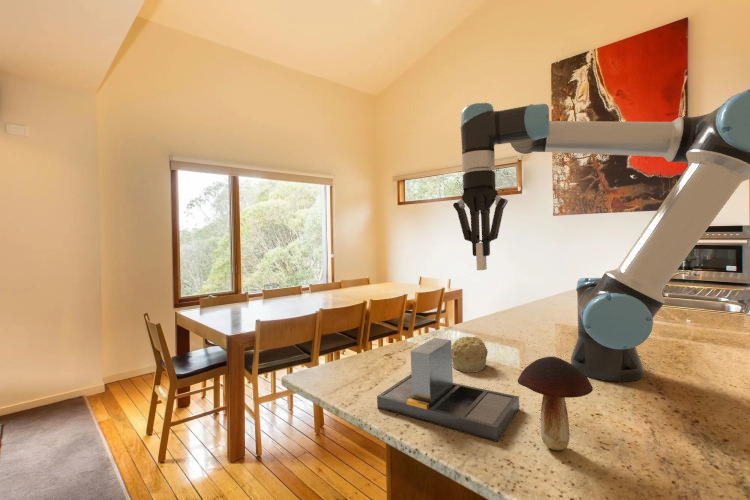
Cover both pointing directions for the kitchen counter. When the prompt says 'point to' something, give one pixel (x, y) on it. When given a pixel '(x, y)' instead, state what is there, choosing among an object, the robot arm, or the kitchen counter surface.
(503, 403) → the rack
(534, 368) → the decorative mushroom
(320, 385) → the kitchen counter surface
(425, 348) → the panel
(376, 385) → the kitchen counter surface
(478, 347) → the decorative item
